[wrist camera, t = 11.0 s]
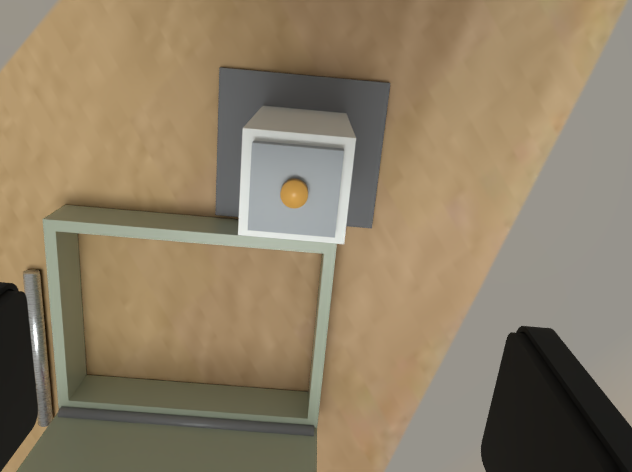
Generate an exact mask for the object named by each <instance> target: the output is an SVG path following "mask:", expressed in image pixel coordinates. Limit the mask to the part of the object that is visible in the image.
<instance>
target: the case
mask: <svg viewBox="0 0 632 472" xmlns="http://www.w3.org/2000/svg"><path fill="white" fill-rule="evenodd" d="M238 223H239V219H227V218H215V217H203V216H192V215H180V214H168V213H156V212H144V211H132V210H121V209H109V208H97V207H85V206H73V205H64V206H62V207H61V208H59V209H58V210H56V211H55V212H53V213H51V214H50V215H48V216H47V217H45V218H44V219H43V229H44V241H45V253H46V265H47V276H48V288H49V300H50V312H51V323H52V335H53V347H54V359H55V370H56V382H57V394H58V406H59V411H58V413H57V415H56V416H55V417H54V419H53V420H52V422H51V423H50V424H49V426H48V427H47V429H46V430H45V432H44V433H43V434H42V436H41V437H40V439H39V440H38V441H37V443H36V444H35V446H34V447H33V449H32V450H31V451H30V453H29V454H28V456H27V457H26V459H25V460H24V461H23V463H22V464H21V466H20V467H19V468H18V470H17V471H16V472H317V424H318V415H319V405H320V396H321V387H322V377H323V368H324V359H325V349H326V340H327V331H328V321H329V312H330V303H331V293H332V284H333V275H334V265H335V256H336V247H337V244H335V243H324V242H312V241H300V240H288V239H277V238H265V237H253V236H242V235H238ZM78 233H82V234H94V235H106V236H118V237H130V238H142V239H154V240H166V241H178V242H190V243H202V244H214V245H226V246H238V247H250V248H262V249H274V250H286V251H298V252H310V253H322V258H321V269H320V279H319V289H318V299H317V309H316V320H315V330H314V340H313V350H312V360H311V371H310V381H309V391H308V392H304V391H291V390H278V389H265V388H252V387H239V386H226V385H213V384H200V383H187V382H174V381H161V380H148V379H135V378H122V377H109V376H96V375H87V372H86V356H85V340H84V324H83V308H82V292H81V277H80V261H79V245H78Z"/></svg>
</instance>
